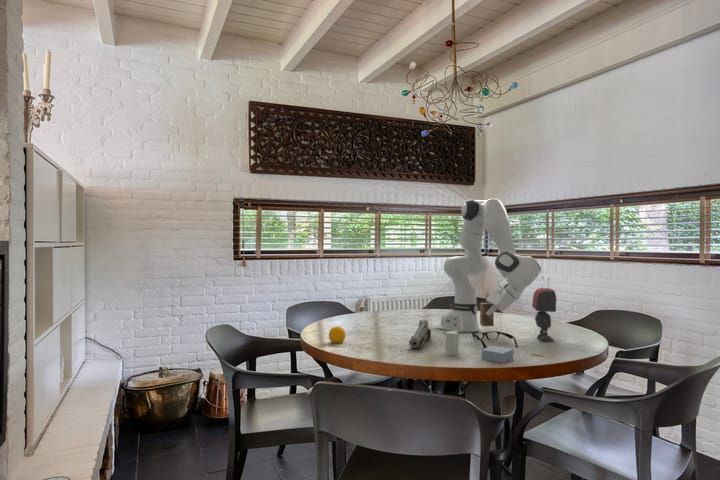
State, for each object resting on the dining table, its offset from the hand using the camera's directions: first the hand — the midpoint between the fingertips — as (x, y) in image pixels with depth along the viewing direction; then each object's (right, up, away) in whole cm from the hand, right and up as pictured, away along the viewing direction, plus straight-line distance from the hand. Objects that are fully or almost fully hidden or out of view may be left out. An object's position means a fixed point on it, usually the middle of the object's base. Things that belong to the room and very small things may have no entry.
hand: (485, 313), depth 187 cm
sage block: (-13, -17, +3) cm, 22 cm away
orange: (-63, -18, +24) cm, 69 cm away
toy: (-24, -18, +20) cm, 36 cm away
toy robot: (+36, -17, +28) cm, 49 cm away
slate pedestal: (+4, -18, -5) cm, 19 cm away
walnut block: (+1, -5, 0) cm, 5 cm away
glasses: (+9, -18, +21) cm, 29 cm away
